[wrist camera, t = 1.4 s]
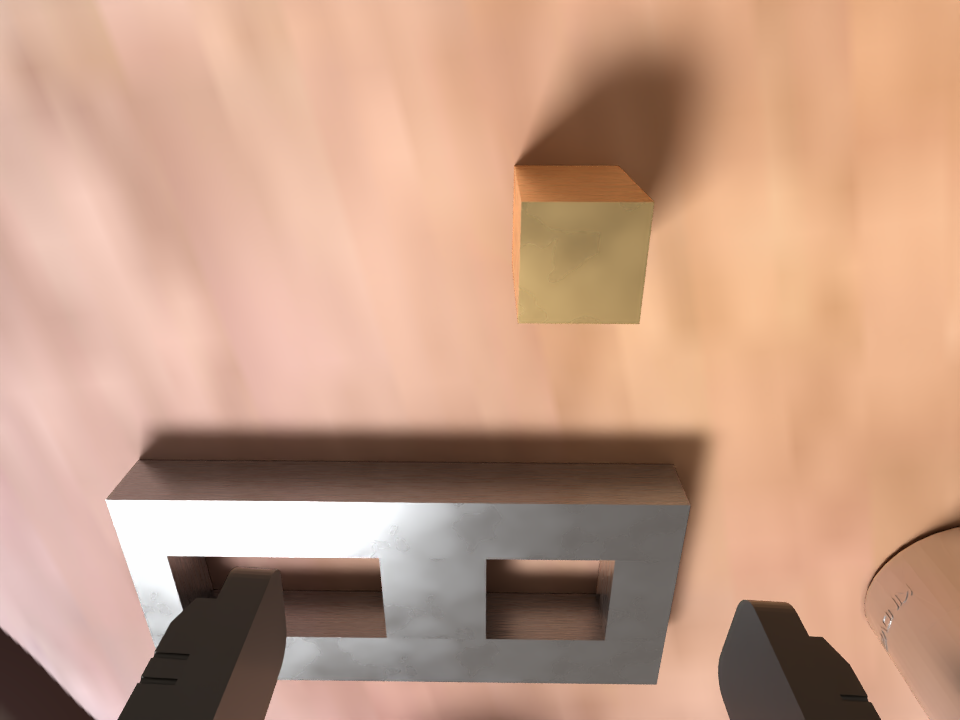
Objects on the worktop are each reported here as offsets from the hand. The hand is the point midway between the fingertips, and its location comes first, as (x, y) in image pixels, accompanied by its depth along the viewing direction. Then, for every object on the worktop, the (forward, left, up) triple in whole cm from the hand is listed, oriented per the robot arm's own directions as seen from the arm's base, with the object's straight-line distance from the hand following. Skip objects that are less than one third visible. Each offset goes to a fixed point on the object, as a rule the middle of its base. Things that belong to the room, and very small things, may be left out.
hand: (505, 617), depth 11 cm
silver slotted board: (+4, +15, -17) cm, 24 cm away
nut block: (-3, -3, -17) cm, 18 cm away
